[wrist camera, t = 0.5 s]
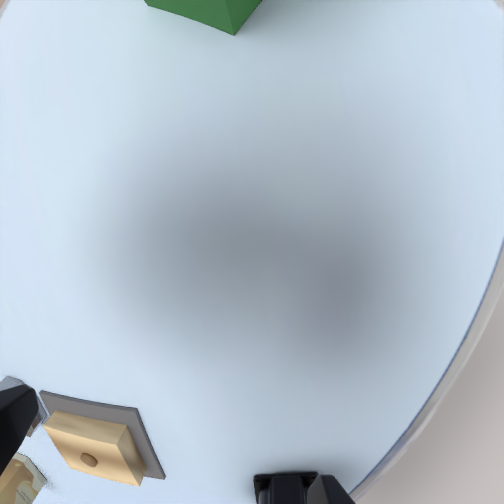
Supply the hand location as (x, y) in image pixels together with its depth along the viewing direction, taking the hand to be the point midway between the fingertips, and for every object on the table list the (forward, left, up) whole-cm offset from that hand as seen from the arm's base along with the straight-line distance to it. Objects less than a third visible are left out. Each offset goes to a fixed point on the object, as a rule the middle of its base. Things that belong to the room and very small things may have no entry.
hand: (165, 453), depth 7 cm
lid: (-17, +15, -13) cm, 26 cm away
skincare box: (-31, +36, -14) cm, 49 cm away
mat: (-17, +15, -14) cm, 26 cm away
